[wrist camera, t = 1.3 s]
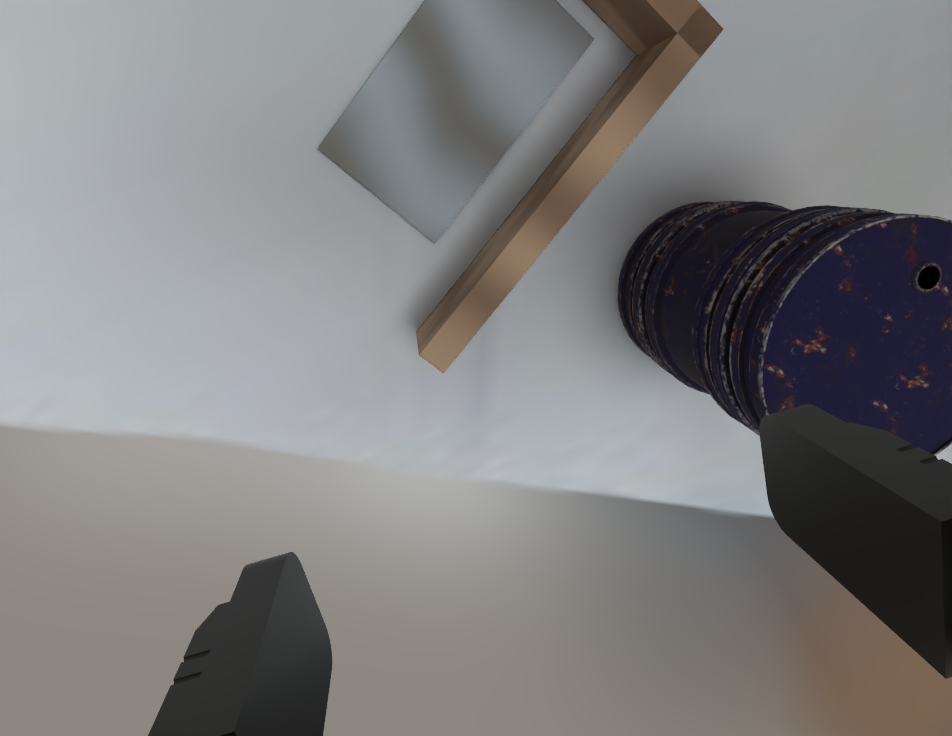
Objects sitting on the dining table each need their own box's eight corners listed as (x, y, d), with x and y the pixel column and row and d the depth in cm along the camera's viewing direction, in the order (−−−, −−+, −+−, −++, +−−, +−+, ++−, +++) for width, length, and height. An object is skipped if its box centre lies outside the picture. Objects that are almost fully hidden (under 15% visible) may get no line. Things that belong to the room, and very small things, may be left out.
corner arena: (496, -136, 30) (515, -197, 25) (676, 51, 33) (723, 29, 28) (250, 207, 32) (224, 211, 28) (437, 348, 36) (443, 373, 31)
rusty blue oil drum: (735, 389, 39) (931, 509, 24) (590, 343, 37) (711, 444, 22) (807, 231, 36) (1070, 263, 22) (656, 173, 34) (839, 167, 20)
